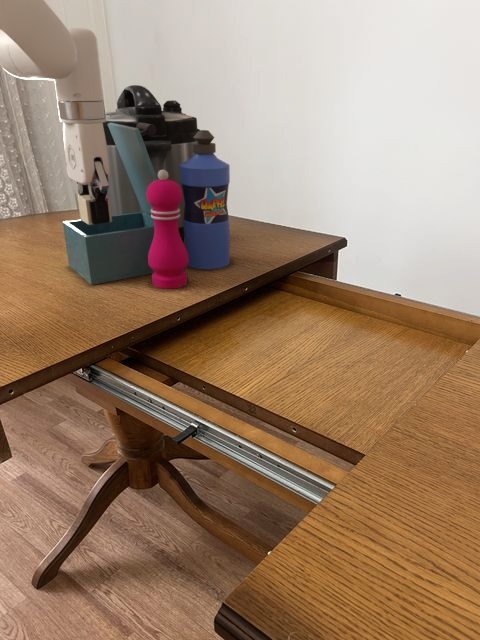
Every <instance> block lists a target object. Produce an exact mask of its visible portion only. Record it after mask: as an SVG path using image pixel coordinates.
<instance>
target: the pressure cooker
mask: <svg viewBox="0 0 480 640" xmlns="http://www.w3.org/2000/svg"><path fill="white" fill-rule="evenodd" d="M182 109H183V108H182V107H181V103H179V102H178V101H177V100H166V101H165V103H163V104H162V105H161V103H159V101H158V99H157V98H156V97H155V96H154V94H153V93H152V91H150V90H149V89H148V88H147V87H146V86H143V85H138V84H133V85H128V86H126V87H125V88H124V89H123V90H122V91H121V93H120V95H119V96H118V99H117V101H116V108H115V111H108V112H105V116H106V122H102V123H103V128H104V133H105V138H106V144H107V150H108V157H109V165H110V180H109V182H108V184H109V188H108V190H107V196H108V197H109V198H110V207H111V216H112V215H120V214H128V213H136V212H145V211H143V210H142V209H141V206H140V204H139V201H138V199H137V196H136V194H135V191H134V189H133V186H132V184H131V181H130V179H129V177H128V174H127V172H126V169H125V167H124V164H123V162H122V159H121V157H120V154H119V152H118V149H117V147H116V144H115V142H114V139H113V137H112V134H111V132H110V129H109V127H108V124H109V123H115V124H120V125H124V126H129V127H134V128H136V125H137V124H138V123H140V122H141V123H146V124H151V125H154V126H155V127H156V133H155V134H154V135H148V134H146V135H144V136H142V139H143V142H144V144H145V147H146V150H147V152H148V155H149V158H150V161H151V163H152V166H153V169H154V171H155V174H156V177H157V179H158V180H159V178H158V172H159V171H160V170H166V171H167V172H168V179H169V180H172V181H174V182H176V183H177V184H178V185H179V187H180V188H181V191H182V201H181V202H180V204H179V205H178V208H179V209H180V212H179V214H180V217H179V218H178V230H179V234H180V237H181V239H184V224H183V219H184V208H185V202H184V195H183V189H182V183H181V180H180V164H182V163H184V162H185V161H187V160H189V159H191V158H192V157H193V155H194V154H195V153H194V152H193V143H197V141H196V140H195V139H194V138H193V137H194V136H195V135H196V133H197V132H198V131H199V130H201V129H199V128H198V119H197V117H196V116H191V115H187V114H186V113H183V111H182ZM94 183H98V180H97V179H96V180H94ZM96 188H98V186H96V187H95V189H96ZM77 194H78V195H79V193H78V192H77ZM146 213H148V212H146ZM148 214H150V213H148ZM150 215H151V214H150Z"/></svg>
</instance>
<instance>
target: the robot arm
mask: <svg viewBox="0 0 480 640" xmlns="http://www.w3.org/2000/svg"><path fill="white" fill-rule="evenodd" d="M0 67H1V69H3V70H4V71H5V72H7V73H8V74H10V75H11V76H13V77H15V78H19V79H21V80H47V81H54V89H55V96H56V100H57V108H58V116H59V122H60V123H62V131H63V133H62V135H63V147H64V155H65V156H64V158H65V168H66V175H67V176H68V178H69V179H71V180H72V181H74V182H76V185H77V194H78V193H79V194H78V196H81V195H90V198H91V201H90V202H89V206H90V213H91V221H92V223H93V224H101V223H108V222H110V218H109V209H108V196H107V190H108V188H109V184H108V182H109V180H110V165H109V157H108V150H107V144H106V138H105V133H104V128H103V123H102V122H106V116H105V113H106V109H105V101H104V100H105V99H104V90H103V79H102V73H101V62H100V53H99V45H98V38H97V36H96V34H95V33H94V32H93V30H91V29H88V28H82V27H66V25H65V24H64V23H63V21H62V20H61V19H60V17H59V16H58V15H57V14H56V13H55V12H54V10H53V9H52V8H51V7H50V6H49V4H48V3H47V2H46V1H45V0H0ZM96 179H97V180H98V183H94V180H96ZM96 186H98V188H96V189H95V187H96Z"/></svg>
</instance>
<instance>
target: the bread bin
mask: <svg viewBox="0 0 480 640" xmlns="http://www.w3.org/2000/svg"><path fill="white" fill-rule="evenodd" d="M62 227H63V235H64V240H65V247H66V253H67V261H68V266H69V267H70V269H72V270H73V271H75V272H76V273H77V274H78V275H79V276H80V277H81V278H82V279H84V280H85V281H86V282H87V283H88V284H90V286H93V285H98V284H103V283H110V282H114V281H119V280H125V279H129V278H135V277H140V276H145V275H150V274H151V275H152V274H153V273H154V271H153V270H152V269H151V268H150V266H149V264H148V254H149V250H150V247H151V244H152V241H153V238H154V232H155V225H154V219H153V218H152V217H151V215H150V214H148V213H146V212H136V213H128V214H120V215H112V222H108V223H101V224H92V225H88V224H87V223H85V222H83V221H82V220H81V219H75V220H65V221H62Z"/></svg>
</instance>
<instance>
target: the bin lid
mask: <svg viewBox="0 0 480 640" xmlns="http://www.w3.org/2000/svg"><path fill="white" fill-rule="evenodd" d="M108 127H109V129H110V132H111V134H112V137H113V139H114V142H115V144H116V147H117V149H118V152H119V154H120V157H121V159H122V162H123V164H124V167H125V169H126V172H127V174H128V177H129V179H130V181H131V184H132V186H133V189H134V191H135V194H136V196H137V199H138V201H139V204H140V206H141V209H142V210H143V211H145V212H148V213H150V214H151V211H150V210H151V209H152V206H151V205H150V204H149V202H148V200H147V197H146V192H147V188H148V186H149V185H150V184H151V183H152V182H153V181H155V180H158V179H157V177H156V174H155V171H154V169H153V166H152V163H151V161H150V158H149V155H148V152H147V150H146V147H145V144H144V142H143V139H142V136H144V135H146V134H148V135H154V134H155V133H156V127H155V126H154V125H151V124H146V123H141V122H140V123H138V124H137V125H136V128H134V127H129V126H124V125H120V124H115V123H109V124H108Z"/></svg>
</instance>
